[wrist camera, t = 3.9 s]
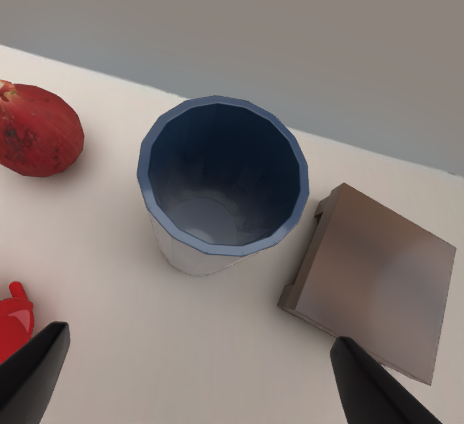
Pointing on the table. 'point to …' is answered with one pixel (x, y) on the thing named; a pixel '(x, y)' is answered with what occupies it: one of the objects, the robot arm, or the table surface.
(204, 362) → the table surface
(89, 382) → the table surface
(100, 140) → the table surface
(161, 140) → the tumbler
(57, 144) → the onion
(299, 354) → the table surface
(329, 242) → the stand
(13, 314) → the cap
